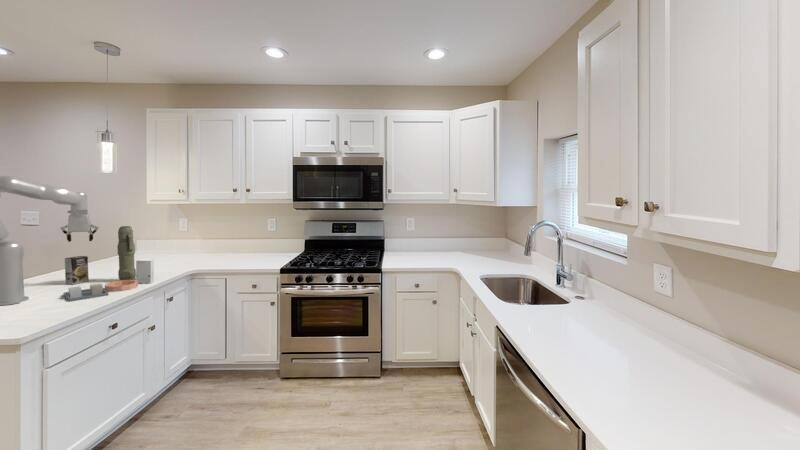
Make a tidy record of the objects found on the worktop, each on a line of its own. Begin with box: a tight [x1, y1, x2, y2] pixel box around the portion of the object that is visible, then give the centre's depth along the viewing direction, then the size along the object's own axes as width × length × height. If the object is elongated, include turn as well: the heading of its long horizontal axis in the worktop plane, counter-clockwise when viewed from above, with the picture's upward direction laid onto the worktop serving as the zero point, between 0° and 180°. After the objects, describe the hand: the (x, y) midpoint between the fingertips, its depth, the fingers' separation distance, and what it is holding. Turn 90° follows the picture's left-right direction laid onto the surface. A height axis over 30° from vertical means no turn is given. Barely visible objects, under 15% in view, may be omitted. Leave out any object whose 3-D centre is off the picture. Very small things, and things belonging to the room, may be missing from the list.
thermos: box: [116, 225, 136, 281], centre depth 231 cm, size 9×12×35 cm
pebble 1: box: [67, 286, 82, 298], centre depth 194 cm, size 4×4×5 cm
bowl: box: [104, 280, 139, 293], centre depth 213 cm, size 15×15×4 cm
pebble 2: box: [89, 283, 104, 295], centre depth 201 cm, size 4×4×5 cm
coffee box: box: [64, 255, 90, 286], centre depth 223 cm, size 9×6×16 cm
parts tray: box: [63, 288, 109, 302], centre depth 198 cm, size 16×16×2 cm
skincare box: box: [135, 258, 155, 285], centre depth 228 cm, size 8×6×15 cm
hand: (80, 241), depth 217 cm, fingers open, 9 cm apart
